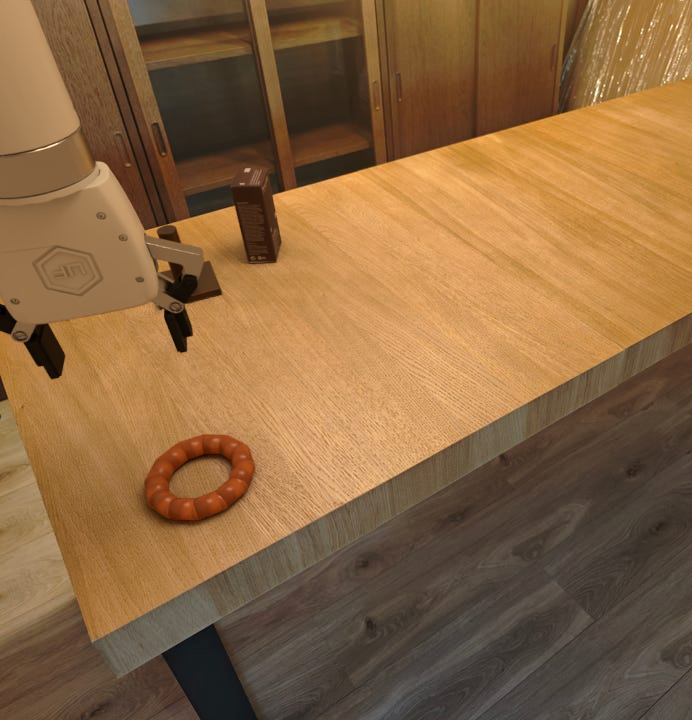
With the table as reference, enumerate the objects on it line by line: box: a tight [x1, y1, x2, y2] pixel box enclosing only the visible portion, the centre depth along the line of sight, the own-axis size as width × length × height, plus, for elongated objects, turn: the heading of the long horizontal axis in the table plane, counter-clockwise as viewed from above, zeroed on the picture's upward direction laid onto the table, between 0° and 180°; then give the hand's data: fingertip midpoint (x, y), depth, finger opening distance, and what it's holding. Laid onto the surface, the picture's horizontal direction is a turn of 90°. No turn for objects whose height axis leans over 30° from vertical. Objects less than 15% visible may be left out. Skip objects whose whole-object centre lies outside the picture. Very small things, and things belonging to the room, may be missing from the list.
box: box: [230, 167, 283, 264], centre depth 92 cm, size 6×4×12 cm
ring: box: [143, 433, 256, 521], centre depth 63 cm, size 10×10×2 cm
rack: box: [156, 224, 223, 311], centre depth 86 cm, size 8×8×9 cm
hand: (122, 355), depth 54 cm, fingers open, 9 cm apart
